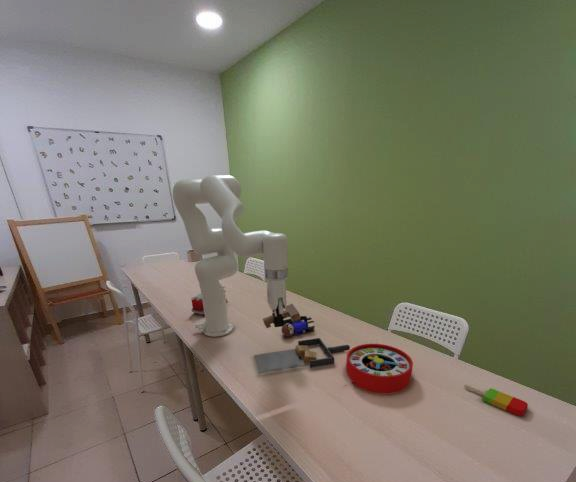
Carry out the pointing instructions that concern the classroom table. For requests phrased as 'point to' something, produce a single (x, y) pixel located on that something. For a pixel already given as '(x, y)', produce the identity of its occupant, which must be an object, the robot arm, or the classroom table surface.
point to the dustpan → (326, 350)
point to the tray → (278, 361)
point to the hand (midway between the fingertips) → (278, 324)
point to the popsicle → (503, 401)
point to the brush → (284, 316)
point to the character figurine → (296, 326)
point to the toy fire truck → (199, 304)
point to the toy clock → (379, 368)
